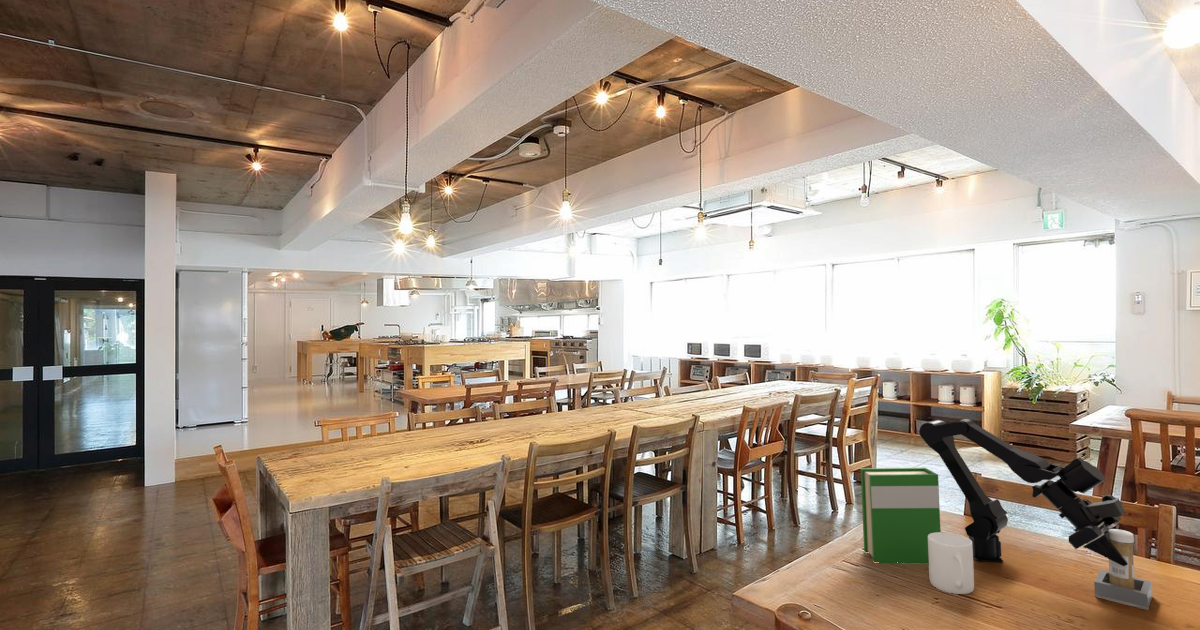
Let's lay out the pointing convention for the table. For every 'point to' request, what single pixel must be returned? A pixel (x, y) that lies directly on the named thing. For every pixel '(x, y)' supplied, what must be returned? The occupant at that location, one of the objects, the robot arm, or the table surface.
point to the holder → (1124, 591)
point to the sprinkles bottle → (1125, 548)
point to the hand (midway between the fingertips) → (1128, 562)
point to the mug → (951, 562)
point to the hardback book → (899, 513)
